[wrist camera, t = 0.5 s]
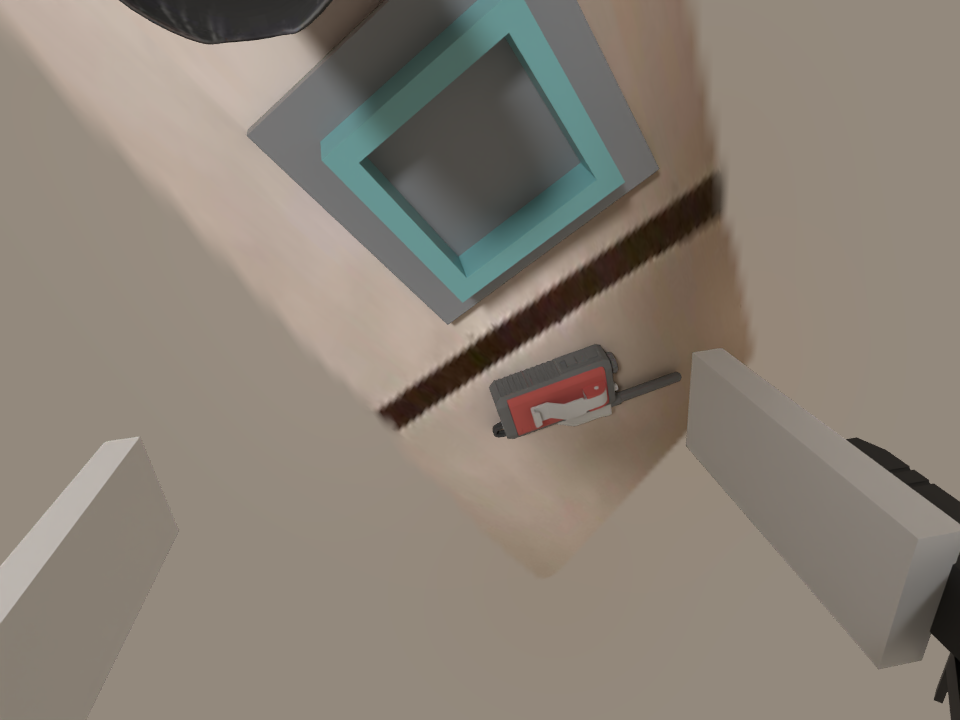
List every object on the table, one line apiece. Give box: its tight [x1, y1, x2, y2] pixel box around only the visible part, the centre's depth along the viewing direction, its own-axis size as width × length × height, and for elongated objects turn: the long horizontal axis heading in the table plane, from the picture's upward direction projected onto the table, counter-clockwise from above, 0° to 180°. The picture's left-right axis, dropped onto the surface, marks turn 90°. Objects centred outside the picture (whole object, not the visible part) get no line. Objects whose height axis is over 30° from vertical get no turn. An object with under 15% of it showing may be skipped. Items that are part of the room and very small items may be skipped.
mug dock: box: [247, 0, 659, 325], centre depth 37 cm, size 20×20×4 cm
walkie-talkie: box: [489, 344, 681, 439], centre depth 55 cm, size 9×4×20 cm
